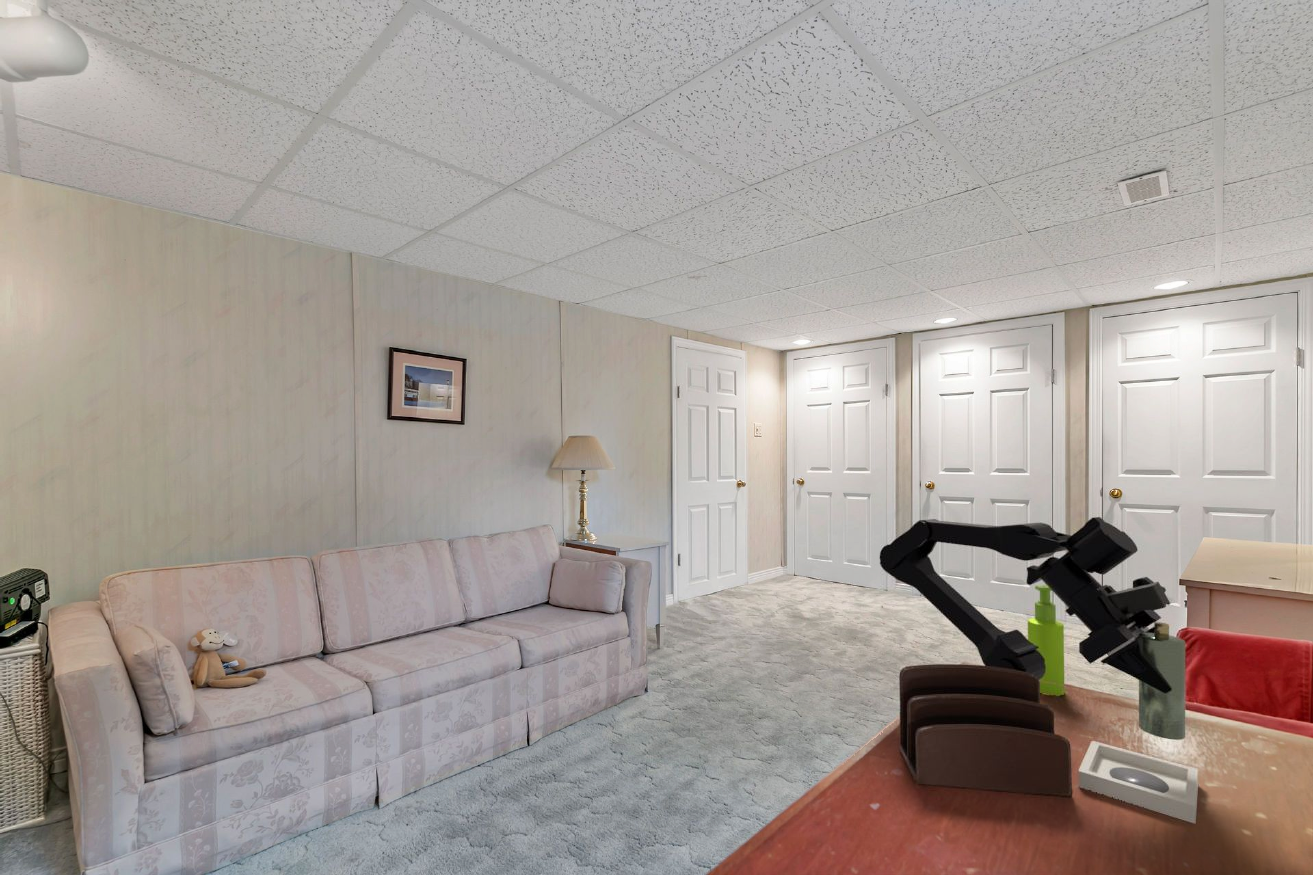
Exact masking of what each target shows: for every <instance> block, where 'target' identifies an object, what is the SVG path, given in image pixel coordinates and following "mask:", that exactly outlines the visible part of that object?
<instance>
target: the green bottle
mask: <svg viewBox="0 0 1313 875" xmlns="http://www.w3.org/2000/svg"><path fill="white" fill-rule="evenodd" d="M1153 624H1154V625H1153V627H1154V633H1140V634H1139V637H1140V636H1143V651H1144V653H1145V654H1146V655H1147V657H1148V658H1149V659H1150V660H1151V662H1152V663H1153V664H1154V665H1155V667H1156V668H1157V669H1158V670H1159V672H1160V673H1161V674H1162V676H1163V677H1164V678H1165V679H1166V681H1167V682H1168V684H1169V685H1170V686H1171V688H1172V690H1171V691H1170V692H1168V693H1163V692H1161V691H1159V690H1157V689H1155V688H1153V687H1152V686H1150V685H1148V684H1146V683H1144V682H1142V681H1140V680H1138V727H1139V729H1141V730H1142V731H1144V732H1145V733H1147V734H1150V735H1152V736H1154V737H1157V738H1158V737H1159V738H1161V739H1166V740H1173V741H1175V740H1176V741H1177V740H1178V741H1180V740H1184V739H1185V738H1186V641H1185V640H1184V639H1182V638H1179V637H1176V636H1174V635H1173V636H1172V635H1170V625H1169V623H1166V622H1159V621H1156V622H1154V623H1153Z"/></svg>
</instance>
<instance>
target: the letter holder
mask: <svg viewBox="0 0 1313 875" xmlns="http://www.w3.org/2000/svg"><path fill="white" fill-rule="evenodd" d="M898 679H899V750H900V753H901V755H902V757H903V759H904V761H905V763H906V766H907V767H908V770H909V772H910V773H911V776H912V777H913V779H914V782H915V784H916V785H922V786H934V787H935V786H936V787H946V788H956V789H969V790H981V791H994V792H1003V793H1005V792H1006V793H1016V794H1029V795H1030V794H1031V795H1041V796H1053V797H1064V798H1067V797H1068V798H1072V797H1073V785H1072V784H1073V782H1072V780H1073V778H1072V751H1071V749H1072V748H1071V743H1070V741H1069V740H1068V739H1067V738H1066V737H1064V736H1062V735H1059V734H1056V733H1055V712H1054V710H1053V709H1054V708H1052V707H1051V706H1050V705H1047V704H1043V703H1040V701H1041V700H1040V698H1041V697H1040V696H1041V694H1040V682H1039V679H1038V677H1037V676H1035V675H1034V674H1031V673H1028V672H1023V671H1018V670H1013V669H1007V668H1000V667H992V666H985V665H980V664H957V663H956V664H955V663H952V664H951V663H950V664H949V663H946V664H945V663H943V664H941V663H939V664H938V663H937V664H919V665H917V664H916V665H909V666H906V665H905V667H902V669H901V670H900V671H899V678H898Z"/></svg>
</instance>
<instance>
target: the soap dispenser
mask: <svg viewBox="0 0 1313 875" xmlns="http://www.w3.org/2000/svg"><path fill="white" fill-rule="evenodd" d="M1034 589H1035V590H1037V591H1039V600H1038V601H1035V603H1034V617H1031V618H1028V619H1027V640H1028V641H1030V642H1031V643H1032V644H1034V645H1036V646H1038V647H1039V648H1038V649H1036V650H1037V651H1039V652H1040V654H1041V655H1042V656H1043V658H1044V659H1045V666H1046V670H1045V674H1044V676H1043V677H1042V678H1041V679H1040V680H1041V681H1039V682H1040V693H1046V694H1049V695H1056V696H1055V697H1061V696H1060V695H1062V696H1063V695H1065V634H1064V632H1065V628H1064V623H1063V622H1061V621H1058V620H1056V612H1057V610H1056V604H1054V602H1051V592H1053V591H1052V590H1051V589H1050V588H1049V587H1048V586H1047V585H1046V584H1045V585H1034ZM1042 681H1045V682H1042ZM1046 682H1050V683H1046ZM1052 683H1056V684H1052ZM1057 684H1061V685H1064V686H1060V685H1057ZM1049 695H1048V696H1049Z"/></svg>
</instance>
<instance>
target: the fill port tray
mask: <svg viewBox="0 0 1313 875" xmlns="http://www.w3.org/2000/svg"><path fill="white" fill-rule="evenodd" d="M1077 773H1078V776H1077V777H1078V781H1077V782H1078V788H1080V789H1083V788H1084V789H1083V790H1086V791H1089V790H1091V791H1090V792H1093V793H1096V792H1097V794H1099V795H1102V794H1104V795H1103V796H1105V795H1106V796H1105V797H1109V798H1112V797H1113V798H1112V799H1115V800H1118V799H1119V800H1118V801H1121V800H1122V801H1121V802H1124V801H1125V803H1128V804H1131V803H1132V804H1131V805H1134V806H1137V805H1138V806H1137V807H1140V808H1143V807H1144V809H1146V810H1150V811H1153V812H1157V813H1160V814H1163V815H1166V816H1168V817H1169V816H1170V817H1172V818H1175V819H1180V820H1182V821H1185V822H1188V823H1191V824H1195V825H1196V823H1197V822H1196V820H1197V811H1198V810H1197V808H1198V807H1197V806H1198V796H1199V795H1198V792H1199V769H1198V768H1196V767H1192V766H1187V765H1184V764H1180V763H1177V762H1173V761H1169V760H1165V759H1163V758H1159V757H1158V758H1157V757H1154V756H1151V755H1146V754H1143V753H1139V752H1136V751H1134V750H1133V751H1132V750H1129V749H1125V748H1120V747H1118V746H1114V745H1110V744H1107V743H1102V742H1100V741H1099V742H1098V741H1094V740H1091V741H1090V745H1089V746H1088V749H1087V751H1086V753H1085V755H1084V758H1083V759H1082V761H1081V764H1080V766H1079V769H1078V772H1077Z"/></svg>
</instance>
